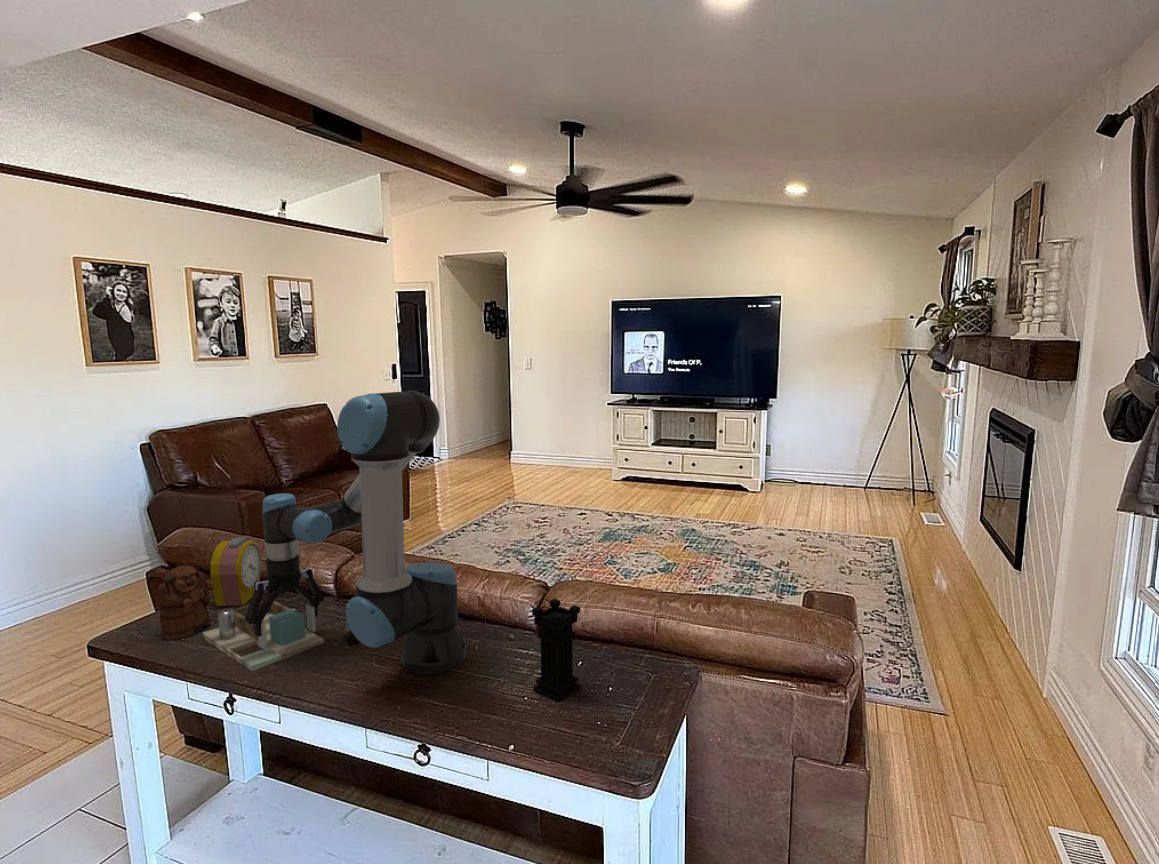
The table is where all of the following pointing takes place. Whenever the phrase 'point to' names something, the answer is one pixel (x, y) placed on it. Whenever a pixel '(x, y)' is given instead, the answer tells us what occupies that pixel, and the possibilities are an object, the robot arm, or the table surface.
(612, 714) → the table surface
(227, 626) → the grey knob
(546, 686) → the chess piece
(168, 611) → the wooden figurine
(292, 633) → the block
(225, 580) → the alarm clock
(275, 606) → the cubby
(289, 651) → the board
